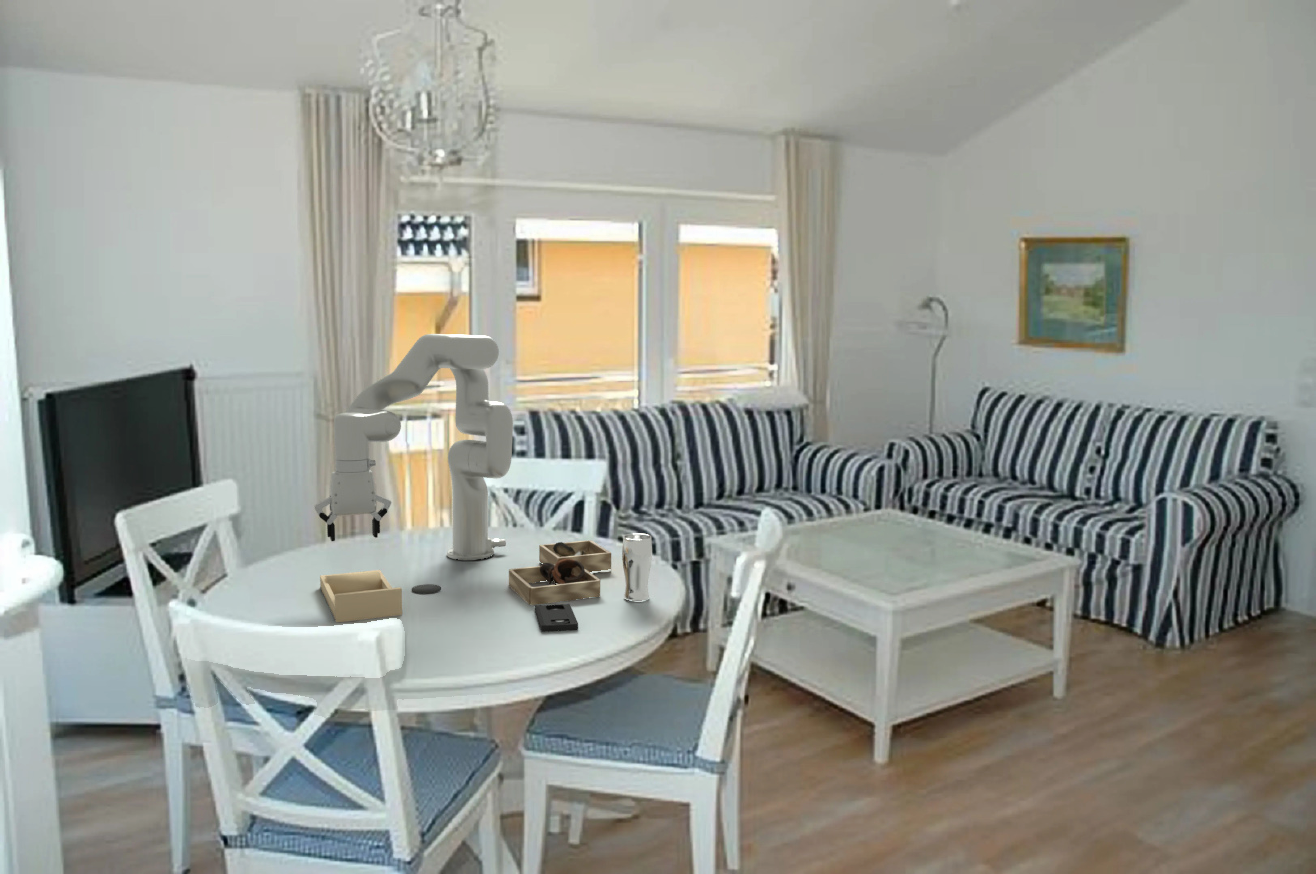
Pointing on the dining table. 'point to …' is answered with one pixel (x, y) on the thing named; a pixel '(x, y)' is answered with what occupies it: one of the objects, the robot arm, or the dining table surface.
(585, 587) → the shallow wooden box
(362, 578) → the wooden drawer
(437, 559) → the dining table surface
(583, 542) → the wooden tray
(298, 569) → the dining table surface
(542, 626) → the vhs tape
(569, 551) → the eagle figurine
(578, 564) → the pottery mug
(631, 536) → the beer glass
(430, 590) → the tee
